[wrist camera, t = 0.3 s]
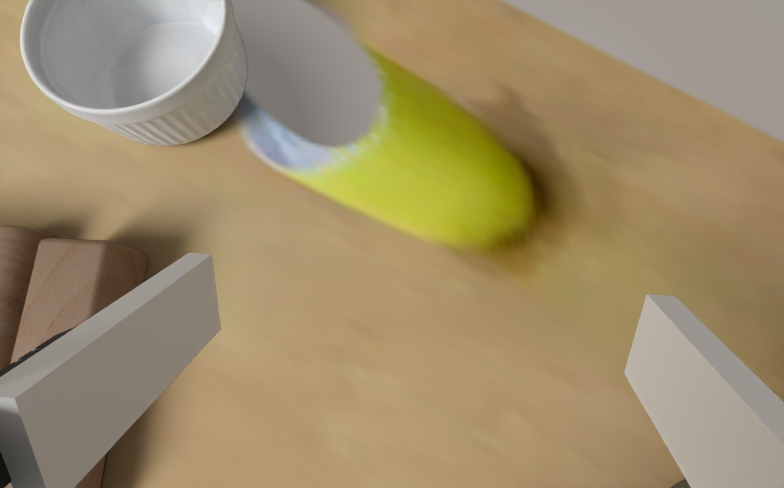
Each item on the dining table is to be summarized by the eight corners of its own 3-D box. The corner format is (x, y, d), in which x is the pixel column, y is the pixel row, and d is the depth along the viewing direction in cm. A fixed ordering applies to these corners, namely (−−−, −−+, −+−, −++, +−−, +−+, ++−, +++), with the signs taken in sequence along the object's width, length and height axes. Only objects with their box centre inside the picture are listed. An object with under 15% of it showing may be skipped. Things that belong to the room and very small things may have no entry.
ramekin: (282, 23, 34) (250, -55, 27) (237, 176, 32) (189, 131, 25) (129, 0, 35) (62, -80, 29) (73, 146, 33) (-16, 95, 26)
